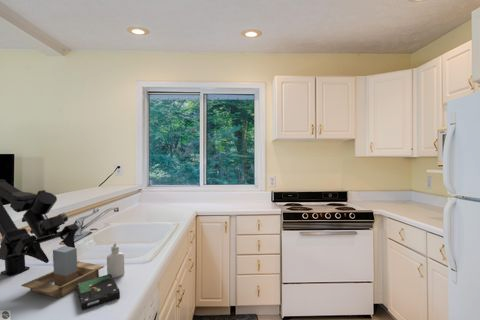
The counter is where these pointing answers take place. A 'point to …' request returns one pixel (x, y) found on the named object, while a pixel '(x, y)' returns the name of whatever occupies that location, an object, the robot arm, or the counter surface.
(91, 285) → the disk drive
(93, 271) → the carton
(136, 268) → the counter surface
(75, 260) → the box
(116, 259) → the eye dropper bottle
